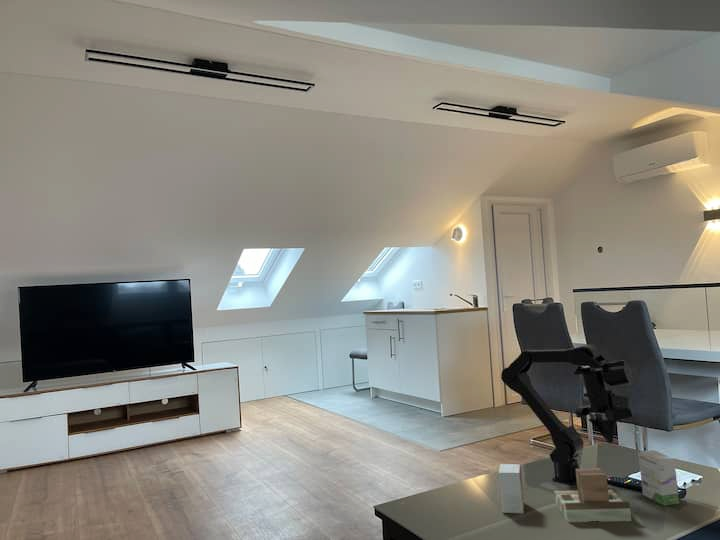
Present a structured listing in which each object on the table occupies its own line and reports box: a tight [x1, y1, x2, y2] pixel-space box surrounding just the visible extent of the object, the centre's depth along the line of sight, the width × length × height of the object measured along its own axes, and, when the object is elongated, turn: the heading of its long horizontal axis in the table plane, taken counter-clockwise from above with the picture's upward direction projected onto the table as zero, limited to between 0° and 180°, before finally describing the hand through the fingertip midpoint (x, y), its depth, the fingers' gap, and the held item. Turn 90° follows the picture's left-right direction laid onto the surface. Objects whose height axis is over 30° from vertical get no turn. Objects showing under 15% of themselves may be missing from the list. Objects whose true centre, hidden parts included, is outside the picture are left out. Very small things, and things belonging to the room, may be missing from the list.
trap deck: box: [553, 489, 632, 523], centre depth 135 cm, size 13×15×4 cm
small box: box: [497, 463, 525, 514], centre depth 141 cm, size 8×6×10 cm
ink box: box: [638, 450, 680, 507], centre depth 139 cm, size 8×5×12 cm, turn 6°
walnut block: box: [576, 467, 609, 503], centre depth 132 cm, size 5×6×8 cm
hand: (610, 442), depth 150 cm, fingers closed
